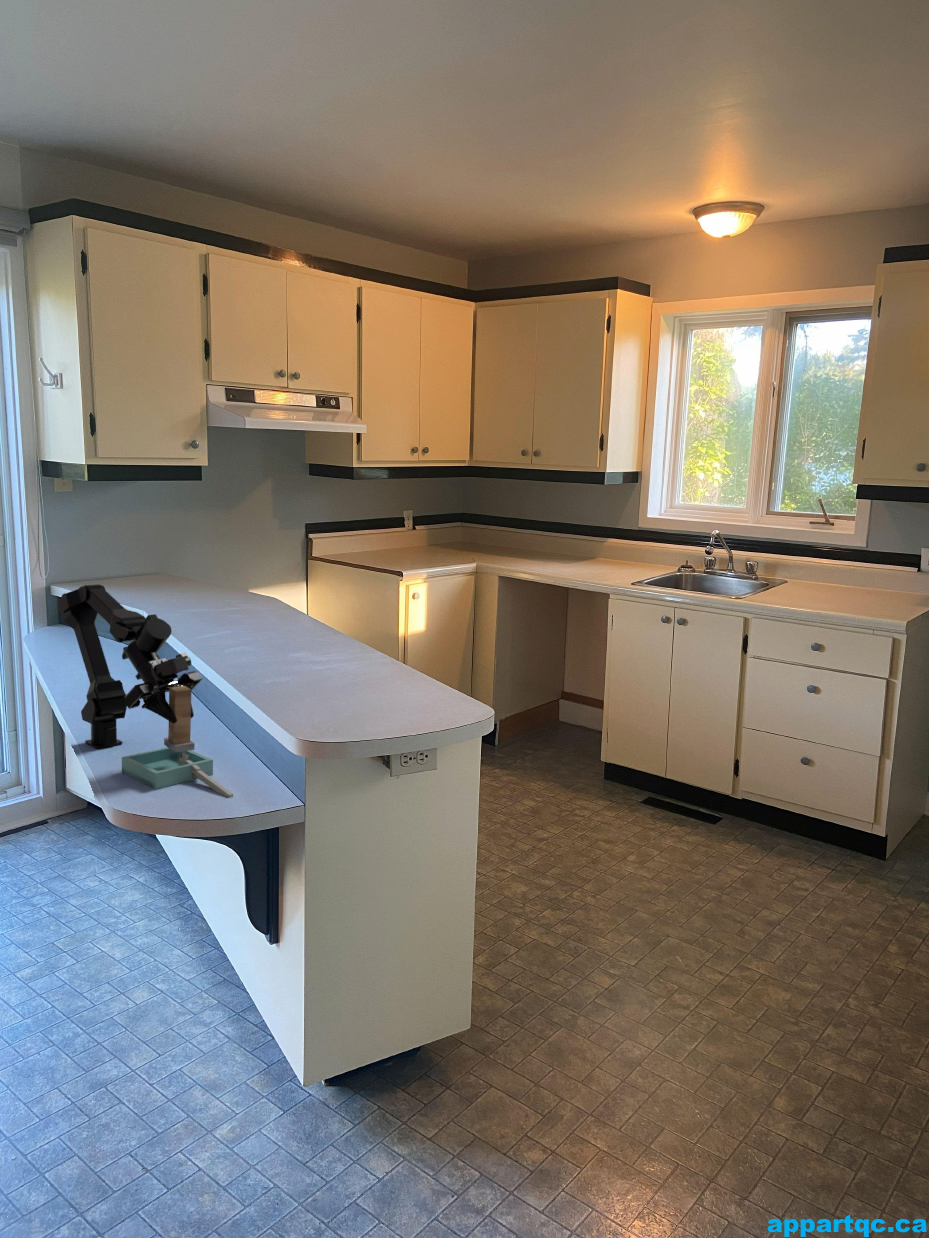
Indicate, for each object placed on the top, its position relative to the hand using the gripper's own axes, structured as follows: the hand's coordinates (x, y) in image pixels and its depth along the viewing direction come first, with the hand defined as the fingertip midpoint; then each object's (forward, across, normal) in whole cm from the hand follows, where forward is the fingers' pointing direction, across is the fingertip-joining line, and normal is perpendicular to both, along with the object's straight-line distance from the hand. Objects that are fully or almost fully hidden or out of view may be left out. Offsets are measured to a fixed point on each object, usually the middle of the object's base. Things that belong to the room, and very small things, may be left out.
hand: (184, 719), depth 197 cm
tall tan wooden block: (+4, 0, +6) cm, 7 cm away
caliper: (+16, -3, +3) cm, 17 cm away
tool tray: (+7, -2, +10) cm, 13 cm away
